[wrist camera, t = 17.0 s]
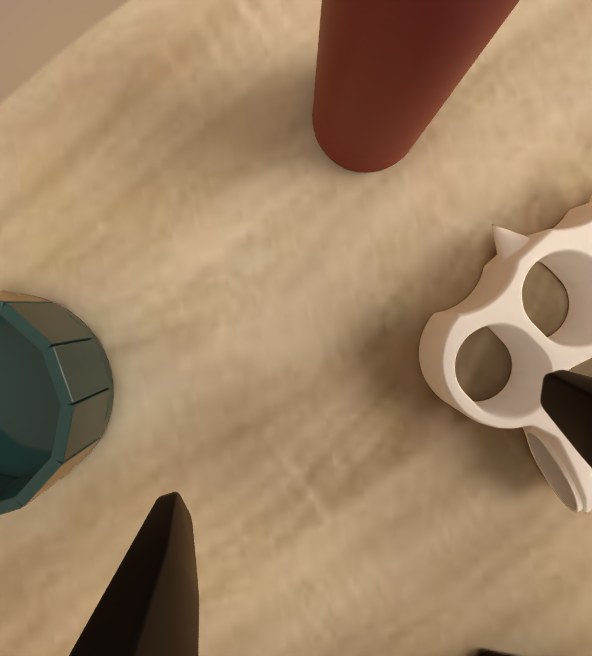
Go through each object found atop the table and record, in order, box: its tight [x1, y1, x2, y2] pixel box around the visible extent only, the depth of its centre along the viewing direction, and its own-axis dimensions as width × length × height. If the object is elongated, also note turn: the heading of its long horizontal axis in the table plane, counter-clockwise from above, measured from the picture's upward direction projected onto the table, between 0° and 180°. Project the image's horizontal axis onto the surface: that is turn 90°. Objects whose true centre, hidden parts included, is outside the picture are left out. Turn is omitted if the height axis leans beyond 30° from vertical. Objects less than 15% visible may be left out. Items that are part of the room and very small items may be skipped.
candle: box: [312, 0, 519, 172], centre depth 13 cm, size 6×6×14 cm
